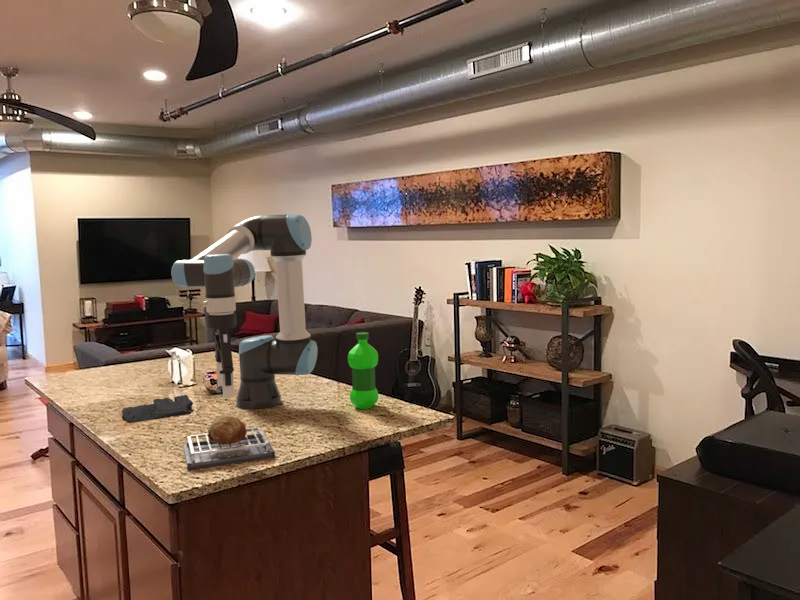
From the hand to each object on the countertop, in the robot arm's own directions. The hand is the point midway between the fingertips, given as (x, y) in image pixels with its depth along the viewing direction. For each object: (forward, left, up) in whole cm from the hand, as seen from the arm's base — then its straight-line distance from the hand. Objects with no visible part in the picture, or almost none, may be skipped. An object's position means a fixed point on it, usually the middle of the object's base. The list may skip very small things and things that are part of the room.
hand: (225, 391), depth 179 cm
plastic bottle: (-29, +48, -17) cm, 58 cm away
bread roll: (0, 0, -13) cm, 13 cm away
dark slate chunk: (-51, -17, -18) cm, 57 cm away
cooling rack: (0, 0, -17) cm, 17 cm away
